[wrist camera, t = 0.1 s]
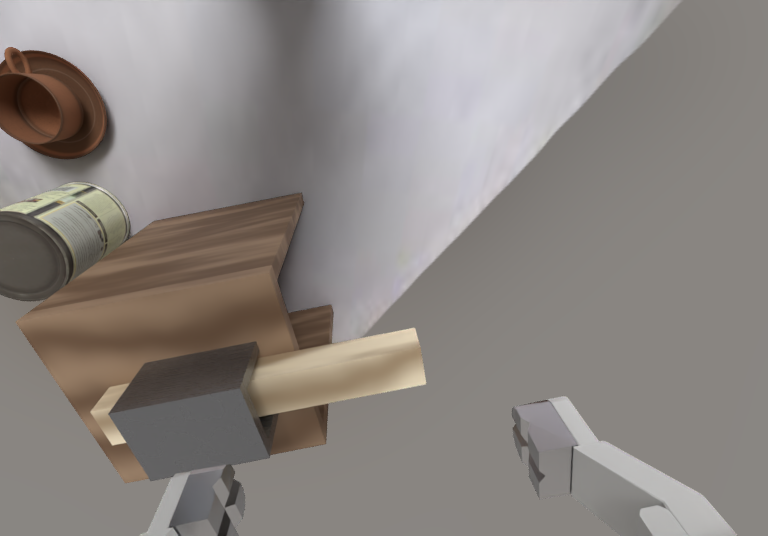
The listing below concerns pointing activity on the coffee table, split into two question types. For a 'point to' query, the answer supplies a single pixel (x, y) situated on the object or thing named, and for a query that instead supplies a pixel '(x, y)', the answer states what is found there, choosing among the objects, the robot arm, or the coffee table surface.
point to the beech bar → (315, 376)
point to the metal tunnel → (194, 413)
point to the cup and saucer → (50, 104)
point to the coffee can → (57, 238)
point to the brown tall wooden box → (180, 311)
